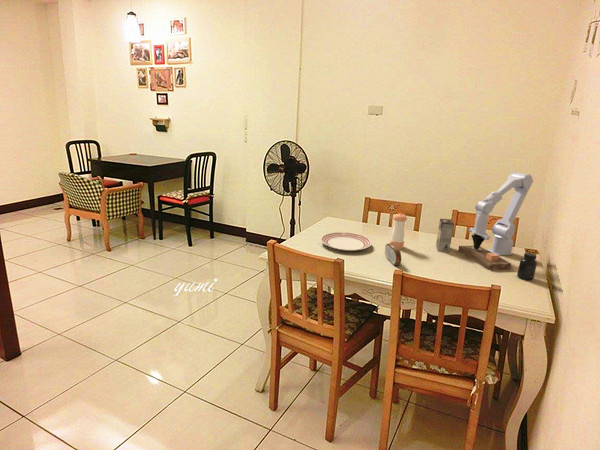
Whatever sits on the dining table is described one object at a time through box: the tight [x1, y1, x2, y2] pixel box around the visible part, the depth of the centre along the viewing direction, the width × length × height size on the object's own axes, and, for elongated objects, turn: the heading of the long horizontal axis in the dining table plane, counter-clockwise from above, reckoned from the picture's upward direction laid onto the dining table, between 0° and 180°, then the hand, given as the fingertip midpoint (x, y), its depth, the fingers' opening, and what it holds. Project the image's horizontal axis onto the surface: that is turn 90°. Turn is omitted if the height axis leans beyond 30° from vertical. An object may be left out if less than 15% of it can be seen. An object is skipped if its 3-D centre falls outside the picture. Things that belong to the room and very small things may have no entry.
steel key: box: [471, 247, 482, 252], centre depth 210 cm, size 4×4×3 cm
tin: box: [384, 242, 402, 266], centre depth 194 cm, size 15×3×8 cm, turn 9°
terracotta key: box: [486, 252, 500, 261], centre depth 197 cm, size 4×4×3 cm
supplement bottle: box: [516, 251, 538, 282], centre depth 182 cm, size 7×7×12 cm
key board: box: [457, 245, 512, 271], centre depth 204 cm, size 12×26×3 cm, turn 11°
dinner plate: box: [320, 231, 372, 252], centre depth 215 cm, size 27×27×3 cm
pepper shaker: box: [389, 212, 408, 250], centre depth 215 cm, size 7×7×19 cm
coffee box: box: [435, 218, 455, 253], centre depth 215 cm, size 9×6×16 cm
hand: (476, 248), depth 209 cm, fingers closed, pressing on steel key
